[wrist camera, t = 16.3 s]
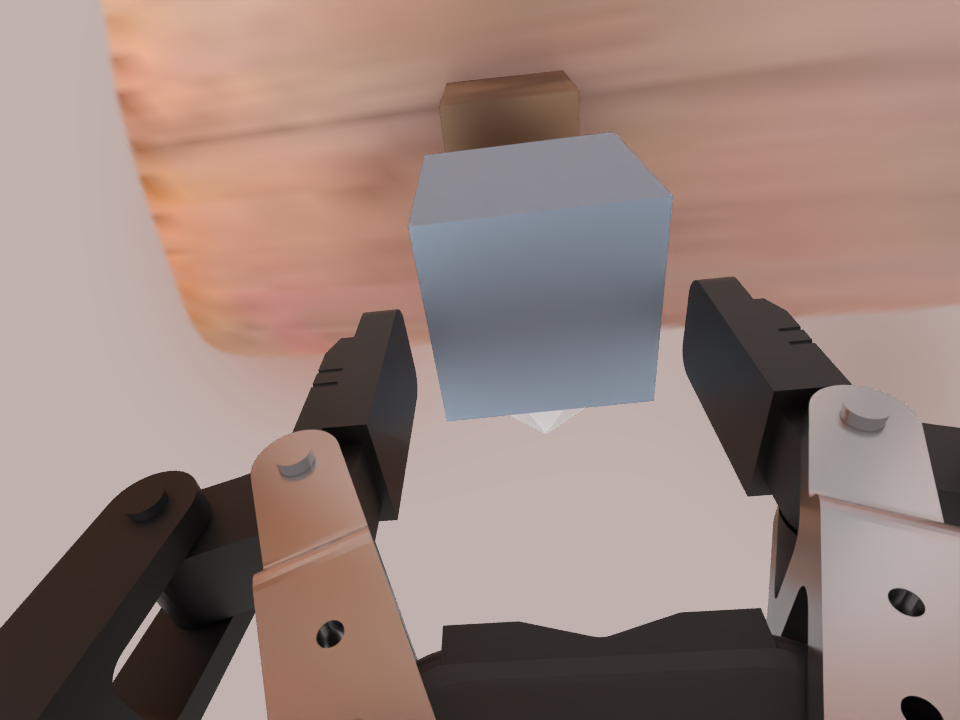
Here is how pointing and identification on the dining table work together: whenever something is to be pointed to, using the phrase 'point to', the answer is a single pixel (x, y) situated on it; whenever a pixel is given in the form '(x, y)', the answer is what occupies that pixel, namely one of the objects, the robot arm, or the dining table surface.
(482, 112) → the walnut cube
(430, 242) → the blue cube
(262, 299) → the dining table surface
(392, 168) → the dining table surface
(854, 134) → the dining table surface
